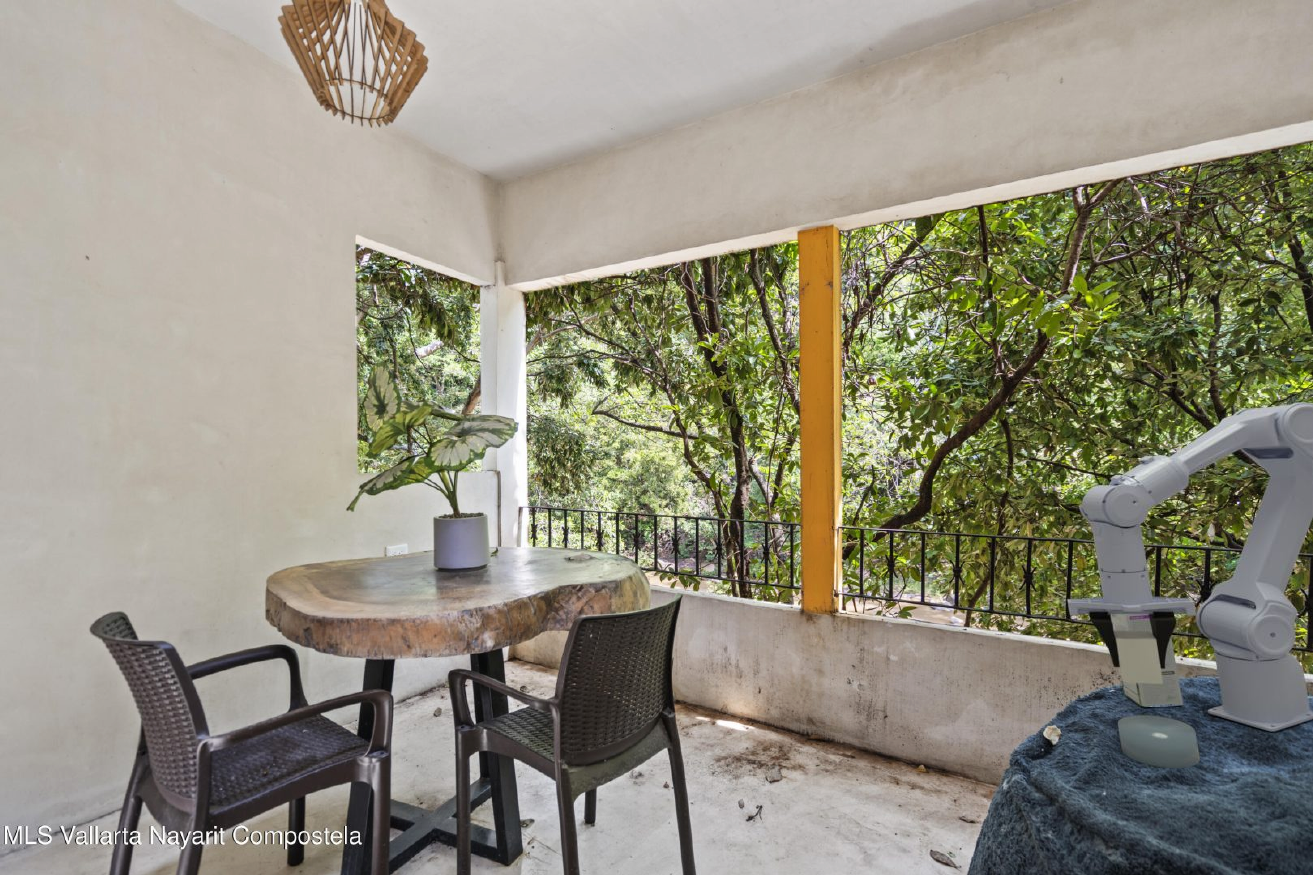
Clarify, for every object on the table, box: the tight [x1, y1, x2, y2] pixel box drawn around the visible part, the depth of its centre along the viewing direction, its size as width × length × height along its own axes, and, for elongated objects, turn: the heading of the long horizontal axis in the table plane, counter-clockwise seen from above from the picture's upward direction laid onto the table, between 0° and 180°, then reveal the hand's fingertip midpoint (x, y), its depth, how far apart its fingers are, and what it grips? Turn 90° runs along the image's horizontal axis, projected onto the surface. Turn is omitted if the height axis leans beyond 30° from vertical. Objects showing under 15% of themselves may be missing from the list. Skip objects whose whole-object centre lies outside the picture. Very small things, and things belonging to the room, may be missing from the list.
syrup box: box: [1110, 614, 1184, 707], centre depth 99 cm, size 6×6×14 cm
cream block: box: [1113, 630, 1163, 684], centre depth 91 cm, size 4×4×6 cm
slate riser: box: [1117, 714, 1201, 769], centre depth 83 cm, size 8×8×4 cm
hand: (1138, 665), depth 91 cm, fingers closed on cream block, 4 cm apart
